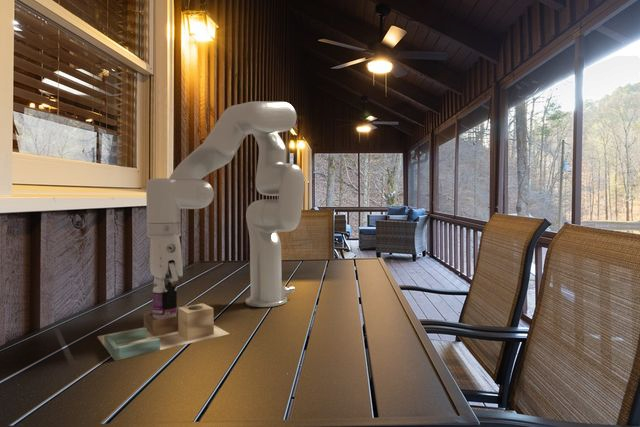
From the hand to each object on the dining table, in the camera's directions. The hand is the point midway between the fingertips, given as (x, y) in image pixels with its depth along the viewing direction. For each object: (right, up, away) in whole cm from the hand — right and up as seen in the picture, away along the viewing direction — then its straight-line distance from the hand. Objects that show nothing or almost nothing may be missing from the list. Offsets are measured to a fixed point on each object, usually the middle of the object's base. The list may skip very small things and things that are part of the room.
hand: (165, 305), depth 97 cm
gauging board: (+1, -7, -4) cm, 8 cm away
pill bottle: (0, -3, 0) cm, 3 cm away
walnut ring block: (0, -6, 0) cm, 6 cm away
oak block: (+9, -6, -4) cm, 11 cm away
